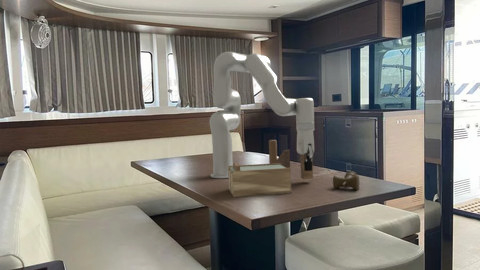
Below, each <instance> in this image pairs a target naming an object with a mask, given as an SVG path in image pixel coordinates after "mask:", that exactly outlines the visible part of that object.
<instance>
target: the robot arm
mask: <svg viewBox="0 0 480 270" xmlns="http://www.w3.org/2000/svg"><path fill="white" fill-rule="evenodd" d="M271 66H272V65H271V60H270V59H269V58H268V57H267V56H266V55H264V54H259V53H251V54H243V53H238V52H235V51H225V52H222V53H220V54H219V55H218V56H217V57H216V59H215V61H214V64H213V92H212V93H213V97H212V100H213V101H212V103H213V105H214V107H215V108H218V109H223V110H222V111H221V110H220V111H216V112H214V113H212V115H211V116H210V118H209V128H210V131H211V132H210V133H211V144H212V165H213V167H212V168H213V169H212V170H213V173H211V174H210V178H212V179H229V176H228V166H233V163H234V162H233V158H234V157H233V139H232V134H231V133H230V131H234V130H236V129H237V128H238V127H239V125H240V123H241V112H242V111H241V109H242V108H241V107H242V99H241V95H240V93H239V91H237V90H235V89H234V88H232V85H233V84H232V83H233V82H232V75H231V73H230V72H232V71H233V72H239V73H249V74H250V75H251V76H252V77H253V79H254V80H255V81H256V83H257V84H258V85H259V87H260V89H261V92H262V95H263V98H264V100H265V101H266V103H267V104H268V105H269V107H270V108H271V110H272V111H273V112H274V113H275V114H276V115H278V116H281V117H289V116H290V117H291V116H296V117H295V121H296V123H295V124H296V133H297V134H296V152H297V154H299V155H300V154H303V155H304V154H305V161H304V168H305V171H312V159H313V157H314V153H315V138H314V136H315V135H314V131H315V106H314V105H315V104H314V103H315V102H314V99H313V98H312V97H301V98H291V97H289V98H287V97H285V96H284V95H283V94H282V92H281V90H280V89H279V87H278V86H277V81H278V76H277V75H276V74H275V72H274V71H273V70H272V69H271ZM307 152H309V154H306V153H307ZM307 155H309V156H307Z"/></svg>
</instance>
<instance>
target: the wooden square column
mask: <svg viewBox="0 0 480 270" xmlns="http://www.w3.org/2000/svg"><path fill="white" fill-rule="evenodd" d="M306 154H309V152H307V153H306ZM299 155H300V156H299V157H300V158H299V159H300V178H301V179H302V180H313V178H314V172H313V171H314V167H313V166H314V165H313V164H314V163H313V162H314V160H313V159H314V158H312V171H305V168H304V161H305V154H304V155H303V154H300V153H299ZM307 156H309V155H307Z"/></svg>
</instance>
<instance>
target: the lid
mask: <svg viewBox="0 0 480 270" xmlns="http://www.w3.org/2000/svg"><path fill="white" fill-rule="evenodd" d="M277 168H285V167H284V166H282V165H264V166H247V167H240V164H239V163H238V162H233V167H230V170H231V171H245V170H261V169H277Z"/></svg>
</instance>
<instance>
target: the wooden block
mask: <svg viewBox="0 0 480 270" xmlns="http://www.w3.org/2000/svg"><path fill="white" fill-rule="evenodd" d="M277 143H278V142H277V140H276V139H270V140H268V153H269V154H268V157H269V163H268V164H271V163H281V165H282V166H284V167H285V168H290V169H291V150H290V149H285V150H283V151H282V153H281V154H280V155H279V156H278V144H277Z"/></svg>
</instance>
